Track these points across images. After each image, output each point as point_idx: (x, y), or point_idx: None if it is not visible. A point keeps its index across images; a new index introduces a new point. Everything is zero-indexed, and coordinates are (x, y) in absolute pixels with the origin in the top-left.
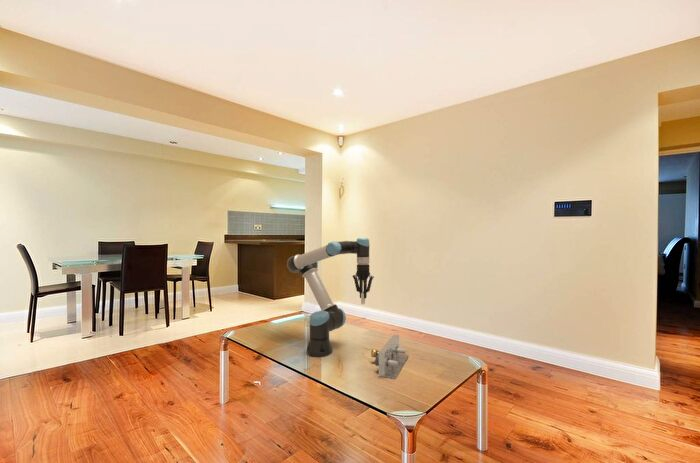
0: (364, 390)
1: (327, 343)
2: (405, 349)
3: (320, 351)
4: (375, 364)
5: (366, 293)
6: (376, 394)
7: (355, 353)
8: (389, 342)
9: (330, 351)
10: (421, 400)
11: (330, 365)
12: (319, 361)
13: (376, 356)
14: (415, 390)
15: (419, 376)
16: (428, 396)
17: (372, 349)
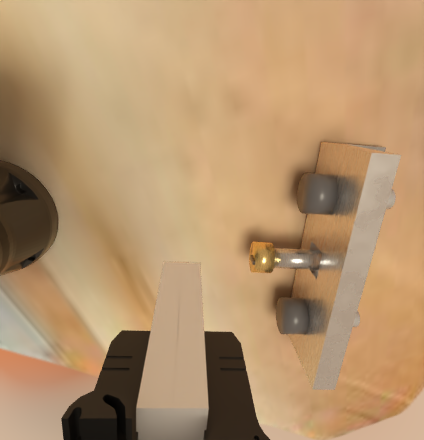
0: (261, 397)
1: (23, 246)
2: (394, 196)
3: (23, 263)
4: (277, 322)
5: (255, 418)
6: (292, 402)
7: (155, 178)
8: (349, 286)
9: (53, 224)
10: (393, 392)
11: (112, 308)
12: (57, 292)
13: (286, 330)
14: (384, 360)
15: (404, 289)
16: (412, 374)
17: (256, 264)
